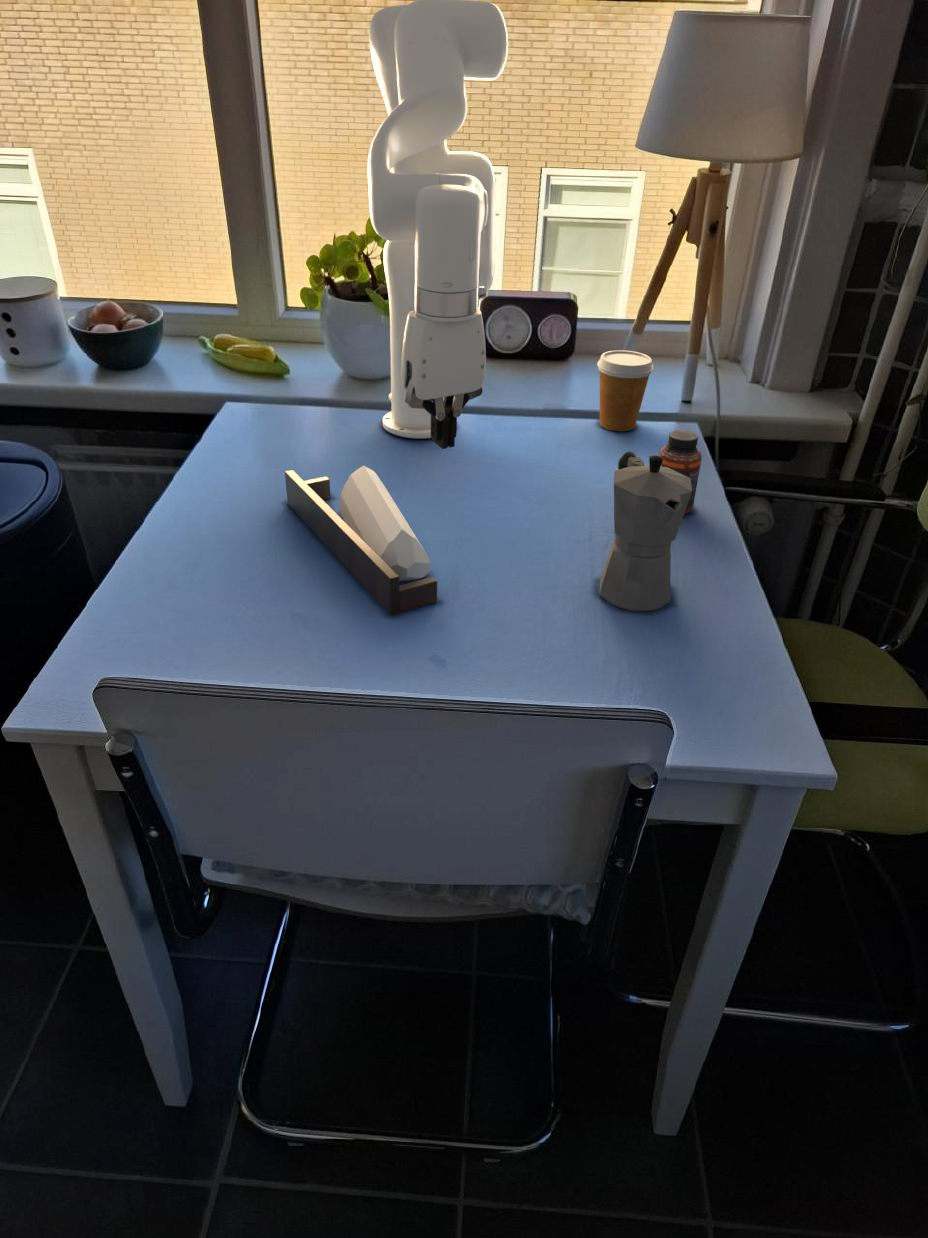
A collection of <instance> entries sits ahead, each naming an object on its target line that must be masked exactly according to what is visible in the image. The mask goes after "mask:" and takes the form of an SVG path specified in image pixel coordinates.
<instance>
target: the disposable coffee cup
mask: <svg viewBox="0 0 928 1238" xmlns="http://www.w3.org/2000/svg"><path fill="white" fill-rule="evenodd" d="M596 365H597V367H598V371H599V425H600V427H602V428H603V429H606V430H609V431H614V432H628V431H632V430H634V429H635V428H636V425H637V421H638V417H639V414H640V410H641V407H642V404H643V400H644V396H645V393H646V389H647V385H648V382H649V378H650V375H651V374H652V372H653V370H654V365H653V361H652V358H651V357H650V356H649V355H647V354H645V353H642V352H638V351H634V350H633V351H632V350H624V349H623V350H619V349H618V350H609V351H606V352H603V353H601V355H600V358H599V360H597V364H596Z"/></svg>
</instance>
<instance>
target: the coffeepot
mask: <svg viewBox="0 0 928 1238" xmlns="http://www.w3.org/2000/svg"><path fill="white" fill-rule="evenodd" d="M648 461H649V462H648V463H649V465H647V464H645V461H644V460H643V459H642V458H641V457H640V456H637V455H636V453H634V452H633V451H626V452H625V453H623V455H622V456H621V457H620V458H619V459H618V462H617V469H616V470H614V472H613V520H614V521H613V524H614V527H613V528H614V531H613V532H614V539H613V540H612V542H611V544H610V545H611V546H610V549H609V552H608V555H607V558H606V561H605V563H604V567H603V570H602V573H601V576H600V579H599V592H598V594H599V595H600V596H601V597H602V598H603V600H605V601H606V602H608V603H609V604H611V605H613V606H614V607H617V608H619V609H623V610H627V611H632V612H651V611H655V610H659V609H661V608H663V607H665V606H666V605H667V604H669V603H671V579H672V578H671V572H672V571H671V570H672V569H671V567H672V566H671V565H672V563H671V561H672V560H671V558H672V557H671V556H672V554H671V553H672V549H671V547H672V542H673V541H675V540H676V537H677V535H678V532H679V530H680V527H681V524H682V521H683V518H684V517H685V516H684V515H685V514H684V513H685V510H686V507H687V504H688V502H689V499H690V496H691V493H692V487H691V479H690V478H689V477H687V476H685V475H683V474H681V473H678V472H676V471H674V470H672V469H670V468H668V467H661V464H662V462H663V457H660V456H659V455H656V454H655V455H654V454H653V455H650V456H648Z"/></svg>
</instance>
